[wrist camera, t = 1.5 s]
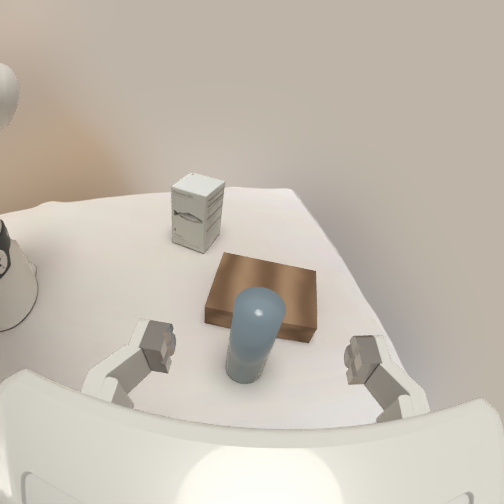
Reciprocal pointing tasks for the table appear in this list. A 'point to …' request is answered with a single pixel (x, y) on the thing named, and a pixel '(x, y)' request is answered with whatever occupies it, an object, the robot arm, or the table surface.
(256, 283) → the plate
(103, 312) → the table surface
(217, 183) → the supplement box
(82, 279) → the table surface
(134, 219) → the table surface
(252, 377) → the slate cylinder
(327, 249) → the table surface
